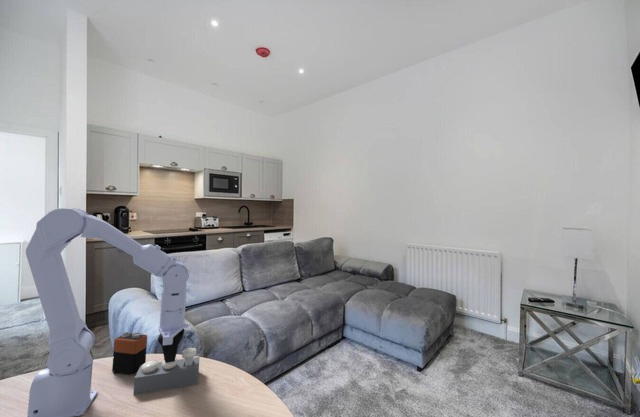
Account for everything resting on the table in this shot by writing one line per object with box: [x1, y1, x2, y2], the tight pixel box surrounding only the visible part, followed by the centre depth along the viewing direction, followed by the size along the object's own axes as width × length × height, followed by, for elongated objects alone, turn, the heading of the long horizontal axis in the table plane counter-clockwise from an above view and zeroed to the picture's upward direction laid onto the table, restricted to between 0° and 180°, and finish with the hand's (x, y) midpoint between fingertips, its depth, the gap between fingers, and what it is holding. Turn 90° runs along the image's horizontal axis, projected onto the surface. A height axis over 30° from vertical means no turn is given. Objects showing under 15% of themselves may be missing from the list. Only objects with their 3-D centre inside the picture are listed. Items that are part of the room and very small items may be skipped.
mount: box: [132, 356, 200, 396], centre depth 69 cm, size 14×6×4 cm, turn 112°
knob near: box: [142, 360, 159, 373], centre depth 68 cm, size 3×3×5 cm
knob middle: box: [161, 357, 178, 370], centre depth 69 cm, size 3×3×5 cm
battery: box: [111, 331, 148, 376], centre depth 74 cm, size 4×7×10 cm, turn 83°
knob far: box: [181, 347, 197, 367], centre depth 71 cm, size 3×3×5 cm
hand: (170, 361), depth 69 cm, fingers closed, pressing on knob middle
